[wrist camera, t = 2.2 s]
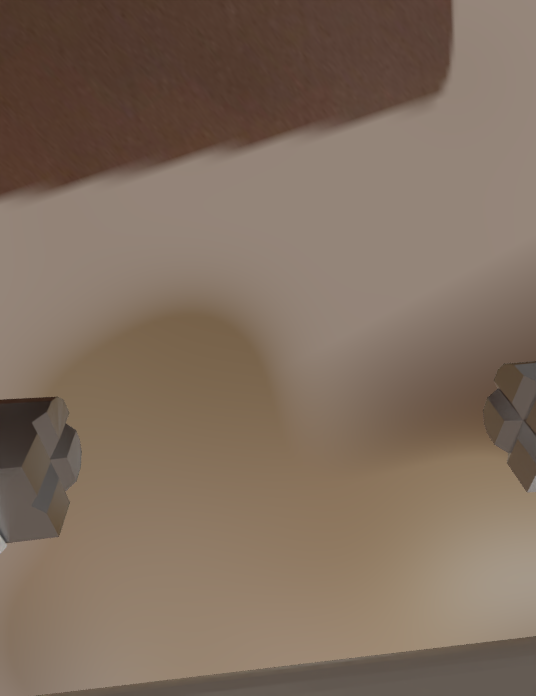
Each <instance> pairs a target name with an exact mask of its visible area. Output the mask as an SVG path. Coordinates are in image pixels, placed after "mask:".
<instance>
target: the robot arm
mask: <svg viewBox="0 0 536 696" xmlns="http://www.w3.org/2000/svg"><path fill="white" fill-rule="evenodd" d="M494 382H495V384H496V385H497V387H498V389H497V390H496V391H494V392H493V393H492V394H491V395H490V396H489V397H488V398H487V400H486V403H485V406H484V409H483V417H484V425H485V428H486V431H487V433H488V435H489V437H490V438H491V440H492V441H493V443H494V445H496V446H498V447H499V448H501V449H503V450H504V451H506V452H508V460H507V464H508V465H509V467H510V468H511V470H512V471H513V472H514V474H515V475H516V477H517V478H518V480H519V481H520V483H521V484H522V486H523V487H524V489H525V490H526V492H536V361H532V362H519V363H507V364H503V365H502V366H501V367H500V368H499V369H498V371H497V374H496V376H495V378H494ZM68 415H69V411H68V409H67V406H66V404H65V402H64V400H63V399H61V398H59V397H43V398H24V399H6V400H5V399H4V400H0V553H1V552H2V551H3V550H4V549H5V548H6V547H7V544H6V543H12V542H20V541H28V540H37V539H44V538H53V537H59V535H60V532H61V528H62V526H63V522H64V519H65V516H66V513H67V510H68V507H69V504H70V502H69V499H68V497H67V495H66V493H65V491H66V490H68V489H69V487H71V486H72V485H73V484H74V483H75V482H76V481H77V478H78V475H79V471H80V467H81V453H82V451H81V444H80V439H79V436H78V434H77V431H76V430H75V429H73V428H72V427H70V426H69V425H67V424H66V420H67V417H68ZM38 696H536V636H534V637H526V638H517V639H508V640H500V641H492V642H483V643H475V644H466V645H458V646H450V647H442V648H433V649H424V650H417V651H409V652H399V653H391V654H383V655H375V656H366V657H358V658H349V659H341V660H332V661H324V662H315V663H308V664H298V665H290V666H282V667H274V668H265V669H256V670H248V671H240V672H231V673H223V674H214V675H206V676H198V677H189V678H181V679H172V680H164V681H155V682H147V683H139V684H130V685H122V686H113V687H105V688H97V689H88V690H80V691H71V692H63V693H55V694H46V695H38Z"/></svg>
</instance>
